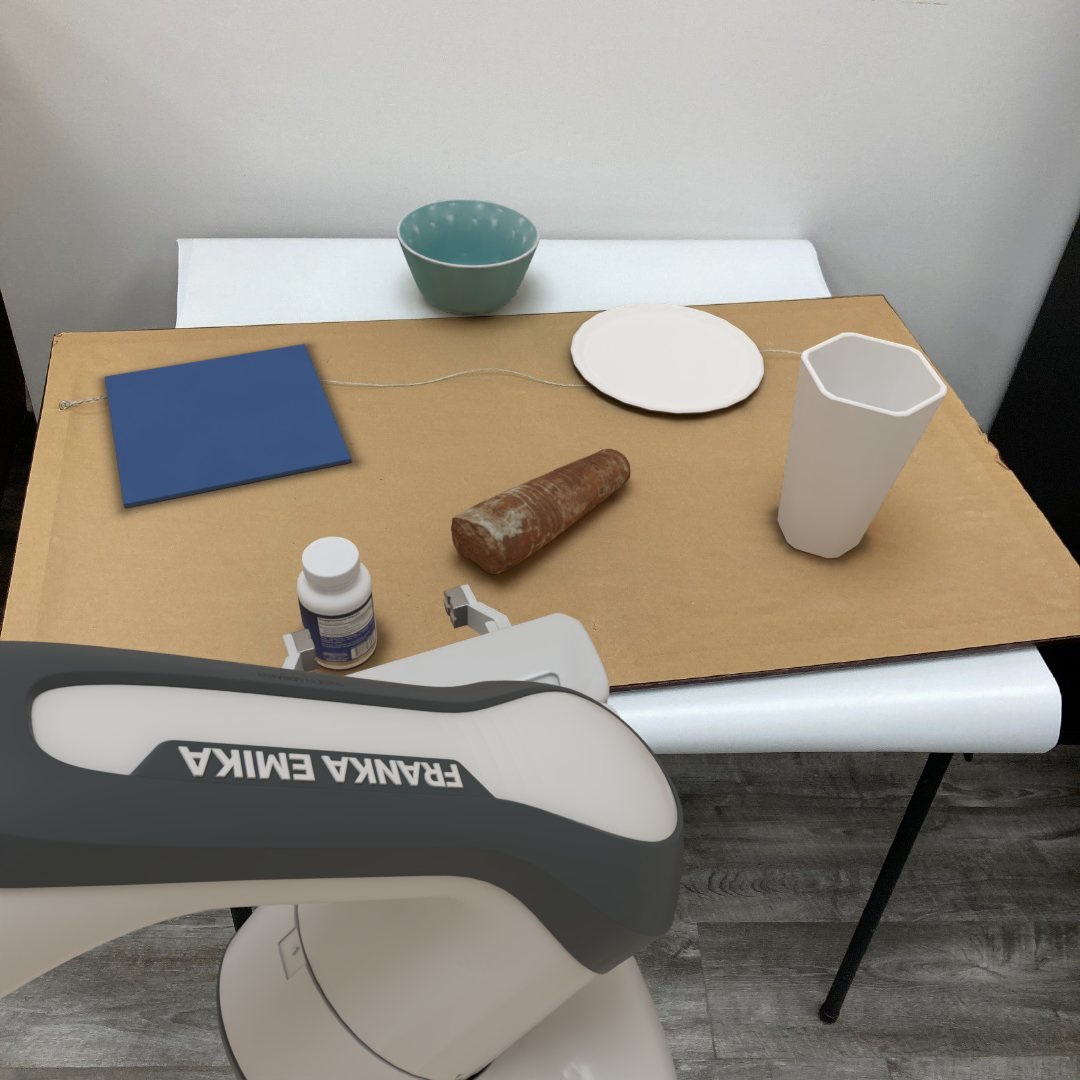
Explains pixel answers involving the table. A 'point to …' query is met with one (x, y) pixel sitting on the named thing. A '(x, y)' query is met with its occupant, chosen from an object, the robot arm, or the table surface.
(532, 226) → the bowl
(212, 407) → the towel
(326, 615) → the pill bottle
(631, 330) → the plate
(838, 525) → the cup
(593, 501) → the brown rounded cylinder
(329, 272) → the table surface
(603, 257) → the table surface
